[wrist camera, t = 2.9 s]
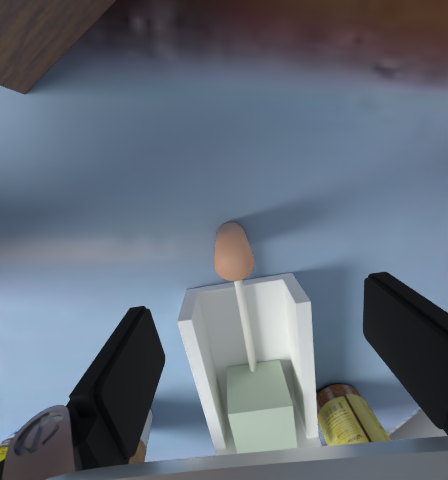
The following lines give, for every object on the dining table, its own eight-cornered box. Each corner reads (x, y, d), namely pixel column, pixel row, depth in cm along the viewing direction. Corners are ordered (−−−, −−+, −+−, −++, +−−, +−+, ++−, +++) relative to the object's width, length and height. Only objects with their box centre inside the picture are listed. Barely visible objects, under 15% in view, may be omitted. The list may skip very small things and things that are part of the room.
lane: (186, 289, 23) (174, 330, 17) (291, 272, 22) (315, 309, 17) (217, 408, 29) (216, 468, 23) (302, 397, 28) (322, 455, 22)
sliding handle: (196, 227, 20) (186, 251, 15) (260, 216, 20) (275, 236, 14) (234, 397, 27) (237, 457, 22) (282, 390, 27) (298, 450, 22)
